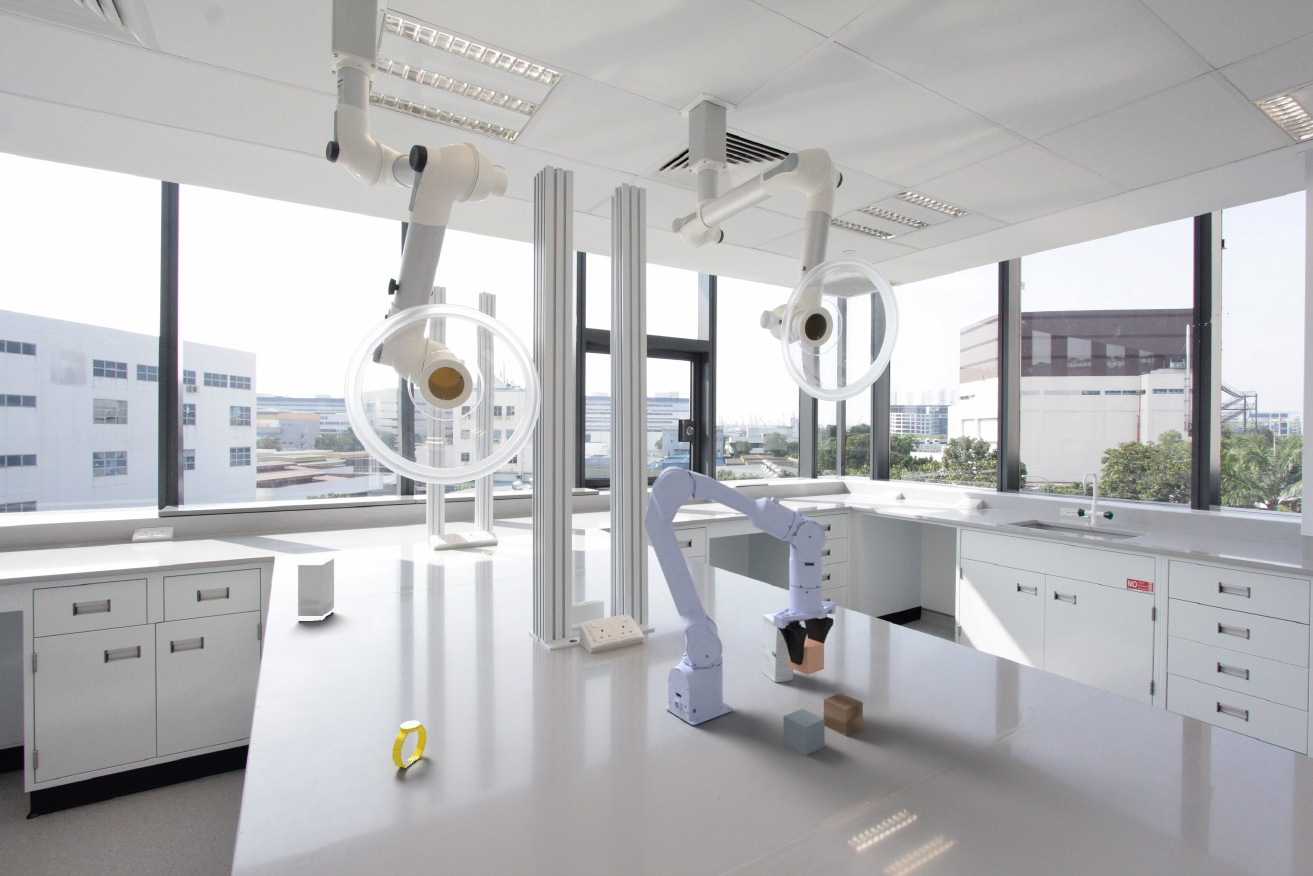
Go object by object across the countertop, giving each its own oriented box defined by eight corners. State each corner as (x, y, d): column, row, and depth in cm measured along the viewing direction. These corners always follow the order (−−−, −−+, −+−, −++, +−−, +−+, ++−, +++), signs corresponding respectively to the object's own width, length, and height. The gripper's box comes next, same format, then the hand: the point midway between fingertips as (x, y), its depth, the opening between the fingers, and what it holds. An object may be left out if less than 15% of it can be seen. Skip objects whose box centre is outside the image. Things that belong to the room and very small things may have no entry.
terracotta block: (807, 674, 105) (807, 649, 105) (787, 666, 108) (787, 642, 108) (824, 668, 107) (823, 643, 107) (804, 661, 111) (804, 636, 111)
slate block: (805, 756, 92) (805, 727, 92) (783, 744, 96) (783, 716, 96) (824, 747, 95) (824, 719, 95) (802, 735, 99) (802, 708, 99)
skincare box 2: (761, 672, 125) (761, 614, 125) (780, 669, 126) (780, 612, 126) (775, 683, 119) (775, 622, 119) (795, 681, 120) (795, 620, 120)
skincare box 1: (311, 613, 167) (310, 557, 167) (336, 612, 168) (335, 556, 168) (296, 622, 159) (296, 564, 159) (323, 621, 159) (322, 563, 159)
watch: (415, 754, 94) (416, 715, 94) (430, 757, 93) (431, 717, 93) (387, 772, 88) (389, 730, 89) (403, 775, 87) (404, 733, 88)
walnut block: (846, 736, 98) (846, 709, 98) (823, 726, 102) (823, 699, 102) (862, 729, 101) (862, 702, 101) (840, 718, 104) (840, 692, 104)
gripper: (795, 595, 100) (795, 676, 100) (849, 582, 109) (849, 657, 109) (764, 587, 106) (764, 663, 106) (818, 575, 114) (818, 646, 114)
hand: (805, 659), depth 108 cm, fingers closed on terracotta block, 4 cm apart
